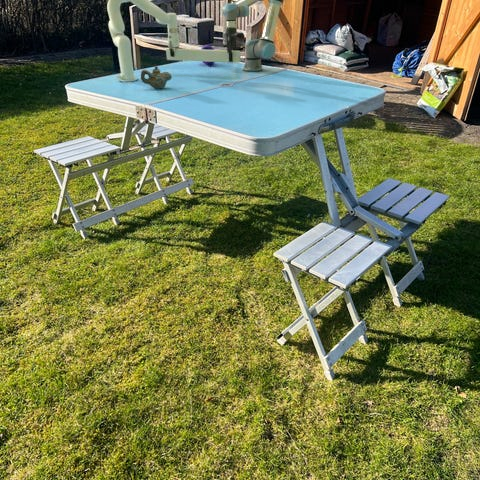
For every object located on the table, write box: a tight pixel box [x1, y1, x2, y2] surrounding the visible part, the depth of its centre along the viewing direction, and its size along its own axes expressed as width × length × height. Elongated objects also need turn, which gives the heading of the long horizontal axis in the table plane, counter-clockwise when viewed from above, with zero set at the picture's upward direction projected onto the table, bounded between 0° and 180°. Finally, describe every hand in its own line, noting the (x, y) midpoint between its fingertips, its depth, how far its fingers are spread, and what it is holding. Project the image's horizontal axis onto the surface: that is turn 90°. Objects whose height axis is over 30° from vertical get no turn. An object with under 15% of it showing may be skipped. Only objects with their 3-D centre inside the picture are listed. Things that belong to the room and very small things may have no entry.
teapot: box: [140, 65, 173, 90], centre depth 311 cm, size 21×12×15 cm, turn 109°
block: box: [165, 48, 242, 64], centre depth 344 cm, size 60×6×8 cm, turn 69°
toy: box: [200, 45, 216, 67], centre depth 391 cm, size 16×18×27 cm
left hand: (174, 55), depth 352 cm, fingers closed on block, 6 cm apart
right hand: (232, 61), depth 338 cm, fingers closed on block, 6 cm apart
